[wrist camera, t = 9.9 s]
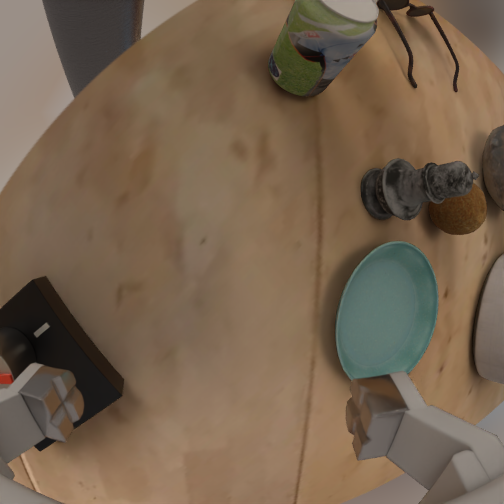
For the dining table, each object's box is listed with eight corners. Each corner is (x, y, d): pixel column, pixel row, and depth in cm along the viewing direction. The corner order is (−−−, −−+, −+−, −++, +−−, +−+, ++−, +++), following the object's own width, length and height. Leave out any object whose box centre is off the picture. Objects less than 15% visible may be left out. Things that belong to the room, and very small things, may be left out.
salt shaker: (402, 219, 30) (497, 210, 19) (364, 226, 28) (468, 217, 17) (393, 165, 30) (484, 140, 19) (353, 166, 28) (452, 133, 17)
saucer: (392, 390, 31) (407, 397, 28) (294, 363, 26) (308, 373, 24) (435, 274, 33) (452, 275, 30) (354, 215, 28) (372, 212, 26)
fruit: (440, 182, 33) (490, 173, 25) (448, 230, 34) (499, 228, 26) (412, 187, 31) (468, 176, 23) (422, 241, 32) (478, 240, 24)
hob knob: (0, 380, 15) (-26, 408, 10) (-15, 328, 15) (-46, 346, 10) (43, 380, 16) (22, 411, 12) (29, 325, 16) (1, 345, 12)
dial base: (-33, 331, 16) (-51, 340, 13) (38, 263, 19) (23, 265, 16) (47, 433, 18) (39, 453, 15) (124, 379, 21) (122, 396, 18)
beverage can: (323, 107, 27) (410, 50, 16) (251, 93, 24) (321, 11, 13) (317, 56, 27) (390, -6, 16) (250, 41, 24) (309, -42, 13)
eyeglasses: (420, 18, 34) (439, 6, 30) (457, 92, 36) (480, 84, 32) (364, 2, 30) (385, -15, 25) (410, 89, 32) (437, 76, 27)
